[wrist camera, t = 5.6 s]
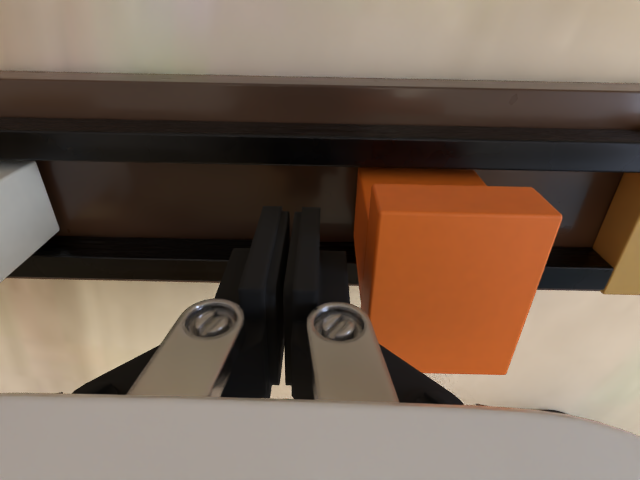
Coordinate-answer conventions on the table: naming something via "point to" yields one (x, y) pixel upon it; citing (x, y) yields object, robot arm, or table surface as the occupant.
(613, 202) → the rails
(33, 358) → the table surface
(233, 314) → the robot arm
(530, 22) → the table surface
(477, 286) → the orange rectangular block
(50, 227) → the white boxy piece
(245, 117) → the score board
